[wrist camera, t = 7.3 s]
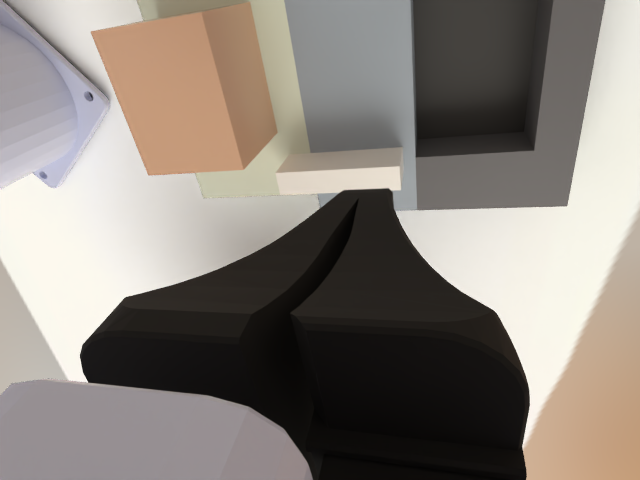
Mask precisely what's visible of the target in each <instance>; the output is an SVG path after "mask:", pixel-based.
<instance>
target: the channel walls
mask: <svg viewBox="0 0 640 480" xmlns="http://www.w3.org/2000/svg"><path fill="white" fill-rule="evenodd" d="M403 172H404V162H403V147H395V148H380V149H365V150H350V151H335V152H320V153H305V154H290V155H288V157H287V158H286V159H285V161H284V162H283V163H282V165H281V166H280V167H279V169H278V170H277V171H276V173H275V174H276V178H277V183H278V187H279V192H280V195H293V194H318V193H340V192H341V191H343V190H357V189H381V188H389V189H390V190H391V191H395V190H401V186H402V179H403Z"/></svg>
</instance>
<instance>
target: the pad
mask: <svg viewBox="0 0 640 480" xmlns="http://www.w3.org/2000/svg"><path fill="white" fill-rule="evenodd" d="M137 2H138V5H139V8H140V11H141V14H142V17H143V20H144V21H146V20H151V19H156V18H161V17H167V16H173V15H178V14H184V13H190V12H195V11H201V10H207V9H212V8H218V7H224V6H229V5H235V4H241V3H246V2H250V4H251V9H252V13H253V18H254V23H255V28H256V32H257V37H258V42H259V47H260V51H261V56H262V61H263V66H264V70H265V75H266V80H267V84H268V89H269V94H270V99H271V103H272V108H273V113H274V118H275V122H276V127H277V132H278V133H277V134H276V135H275V136H274V137H273V138H272V139H271V140H270V142H269V143H268V144H267V145H266V146H265V147H264V148H263V149H262V150H261V151H260V153H259V154H258V155H257V156H256V157H255V158H254V159H253V160H252V161H251V162H250V163H249V165H248V166H247V167H246V168H245V169H244V170H234V171H217V172H199V173H195V174H196V177H197V180H198V183H199V186H200V189H201V192H202V195H203V198H224V197H250V196H276V195H280V192H279V187H278V183H277V178H276V174H275V173H276V171H277V170H278V169H279V167H280V166H281V165H282V163H283V162H284V161H285V159H286V158H287V157H288V155H290V154H305V153H310V147H309V141H308V135H307V130H306V124H305V118H304V112H303V106H302V101H301V95H300V89H299V83H298V77H297V72H296V66H295V60H294V55H293V49H292V43H291V37H290V32H289V26H288V20H287V14H286V8H285V2H284V0H137ZM293 195H302V194H293Z"/></svg>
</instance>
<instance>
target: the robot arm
mask: <svg viewBox="0 0 640 480" xmlns="http://www.w3.org/2000/svg"><path fill="white" fill-rule="evenodd" d="M89 92H90V93H91V94H92V95H93V98H91V96H90V94H89ZM109 108H110V103H109V100H108V98H107V97H106V96H105V95H104V94H103V93H102V92H101V91H100V90H99V89H97V88H96V87H95V86H94V85H93V84H92V83H91V82H90V81H89V80H88V79H87V78H86V77H85V76H83V75H82V74H81V73H80V72H79V71H78V70H77V69H76V68H75V67H74V66H73V65H72V64H71V63H69V62H68V61H67V60H66V59H65V58H64V57H63V56H62V55H61V54H60V53H59V52H58V51H56V50H55V49H54V48H53V47H52V46H51V45H50V44H49V43H48V42H47V41H46V40H45V39H44V38H42V37H41V36H40V35H39V34H38V33H37V32H36V31H35V30H34V29H33V28H32V27H31V26H29V25H28V24H27V23H26V22H25V21H24V20H23V19H22V18H21V17H20V16H19V15H18V14H17V13H15V12H14V11H13V10H12V9H11V8H10V7H9V6H8V5H7V4H6V3H5V2H4V1H3V0H0V189H2V188H4V187H6V186H8V185H10V184H12V183H14V182H16V181H18V180H19V179H21V178H23V177H25V176H27V175H29V174H31V173H33V174H34V175H36V176H37V177H38V178H39V179H41V180H42V181H43V182H44V183H45V184H47V185H48V186H49V187H52V188H57V187H59V186H60V185H61V184H62V183H63V181H64V180H65V178H66V177H67V175H68V173H69V172H70V170H71V169H72V167H73V165H74V164H75V162H76V161H77V159H78V158H79V156H80V154H81V153H82V151H83V150H84V148H85V146H86V145H87V143H88V142H89V140H90V139H91V137H92V135H93V134H94V132H95V131H96V129H97V127H98V126H99V124H100V123H101V121H102V120H103V118H104V116H105V115H106V113H107V112H108V110H109ZM80 359H81V364H82V369H83V373H84V375H85V377H86V379H87V381H88V383H86V382H77V381H67V380H58V379H40V380H33V381H26V382H19V383H13V384H11V385H10V386H9V387H8V388H7V389H6V390H5V391H4V392H3V393H2V394H1V395H0V480H526V477H527V476H526V467H525V461H524V455H523V450H522V444H523V439H524V433H525V428H526V423H527V417H528V412H529V406H530V397H529V387H528V383H527V379H526V376H525V373H524V370H523V367H522V365H521V362H520V360H519V357H518V355H517V352H516V350H515V348H514V346H513V343H512V341H511V339H510V337H509V335H508V333H507V331H506V330H505V328H504V326H503V324H502V322H501V320H500V318H499V317H498V315H497V313H496V312H495V311H493V310H492V309H490V308H489V307H487V306H485V305H483V304H482V303H480V302H478V301H476V300H475V299H473V298H471V297H469V296H468V295H466V294H464V293H462V292H461V291H459V290H458V289H457V288H455V287H454V286H453V285H451V284H450V283H448V282H447V281H446V280H445V279H444V278H443V277H442V276H441V275H440V274H438V273H437V272H436V271H435V270H434V269H433V268H432V267H431V266H430V265H429V264H428V263H427V262H426V261H425V259H424V258H423V257H422V256H421V255H420V253H419V252H418V251H417V250H416V248H415V247H414V246H413V244H412V243H411V241H410V240H409V238H408V236H407V235H406V233H405V231H404V230H403V228H402V226H401V224H400V222H399V219H398V217H397V215H396V212H395V210H394V201H393V192H392V191H391V190H390V189H389V188H381V189H357V190H343V191H341V192H340V193H339V194H337V195H336V196H335V197H334V198H332V199H331V200H330V201H329V202H327V203H326V204H325V205H324V206H323V207H321V208H320V209H319V210H317V211H316V212H315V213H314V214H312V215H311V216H310V217H309V218H307V219H306V220H305V221H303V222H302V223H301V224H299V225H298V226H296V227H295V228H294V229H292V230H291V231H289V232H288V233H287V234H285V235H284V236H282V237H281V238H279V239H277V240H276V241H274V242H273V243H271V244H269V245H267V246H266V247H264V248H262V249H260V250H258V251H257V252H255V253H253V254H251V255H249V256H247V257H244V258H242V259H240V260H238V261H236V262H233V263H231V264H229V265H227V266H225V267H222V268H220V269H218V270H215V271H213V272H210V273H207V274H205V275H202V276H199V277H196V278H193V279H190V280H187V281H184V282H181V283H178V284H175V285H171V286H168V287H164V288H160V289H156V290H152V291H149V292H145V293H141V294H137V295H133V296H129V297H126V298H124V299H123V301H122V302H121V303H120V304H119V305H118V306H117V307H116V308H115V309H114V311H113V312H112V313H111V314H110V315H109V316H108V317H107V318H106V319H105V321H104V322H103V323H102V324H101V325H100V326H99V327H98V328H97V329H96V331H95V332H94V333H93V334H92V335H91V336H90V337H89V338H88V339H87V341H86V342H85V343H84V344H83V346H82V350H81V354H80Z"/></svg>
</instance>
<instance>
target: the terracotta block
mask: <svg viewBox="0 0 640 480" xmlns="http://www.w3.org/2000/svg"><path fill="white" fill-rule="evenodd" d="M91 34H92V36H93V39H94V41H95V44H96V46H97V49H98V51H99V54H100V56H101V59H102V61H103V64H104V66H105V69H106V71H107V74H108V76H109V79H110V81H111V84H112V86H113V89H114V91H115V94H116V96H117V99H118V101H119V104H120V106H121V108H122V111H123V113H124V116H125V118H126V121H127V123H128V126H129V128H130V131H131V133H132V136H133V138H134V141H135V143H136V146H137V148H138V151H139V153H140V156H141V158H142V161H143V163H144V166H145V168H146V171H147V173H148V175H165V174H182V173H199V172H217V171H234V170H244V169H245V168H246V167H247V166H248V165H249V163H250V162H251V161H252V160H253V159H254V158H255V157H256V156H257V155H258V154H259V153H260V151H261V150H262V149H263V148H264V147H265V146H266V145H267V144H268V143H269V142H270V140H271V139H272V138H273V137H274V136H275V135H276V134H277V133H278V132H277V127H276V122H275V118H274V113H273V108H272V103H271V99H270V94H269V89H268V84H267V80H266V75H265V70H264V66H263V61H262V56H261V51H260V47H259V42H258V37H257V32H256V28H255V23H254V18H253V13H252V9H251V4H250V2H246V3H241V4H235V5H229V6H224V7H218V8H212V9H207V10H201V11H195V12H190V13H184V14H178V15H173V16H167V17H161V18H156V19H151V20H146V21H141V22H136V23H131V24H126V25H121V26H116V27H111V28H106V29H101V30H97V31H92V32H91Z"/></svg>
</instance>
